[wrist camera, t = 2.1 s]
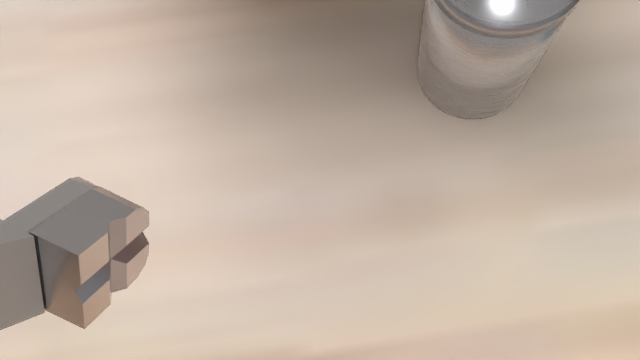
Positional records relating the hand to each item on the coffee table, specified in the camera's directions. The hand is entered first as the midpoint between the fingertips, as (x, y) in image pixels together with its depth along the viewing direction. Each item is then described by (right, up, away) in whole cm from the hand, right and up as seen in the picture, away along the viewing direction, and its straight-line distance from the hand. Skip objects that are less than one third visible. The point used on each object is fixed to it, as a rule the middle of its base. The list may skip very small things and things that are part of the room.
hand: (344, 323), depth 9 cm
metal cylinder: (+7, +8, +16) cm, 19 cm away
